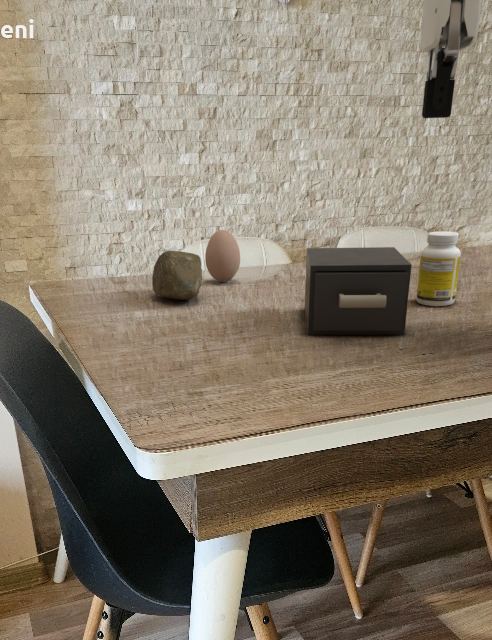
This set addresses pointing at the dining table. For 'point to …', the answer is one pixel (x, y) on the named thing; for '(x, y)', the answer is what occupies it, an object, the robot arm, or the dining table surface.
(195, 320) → the dining table surface
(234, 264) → the egg
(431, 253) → the pill bottle
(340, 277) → the pull-out drawer
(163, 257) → the stone
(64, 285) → the dining table surface
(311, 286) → the dark grey drawer unit
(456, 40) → the robot arm
